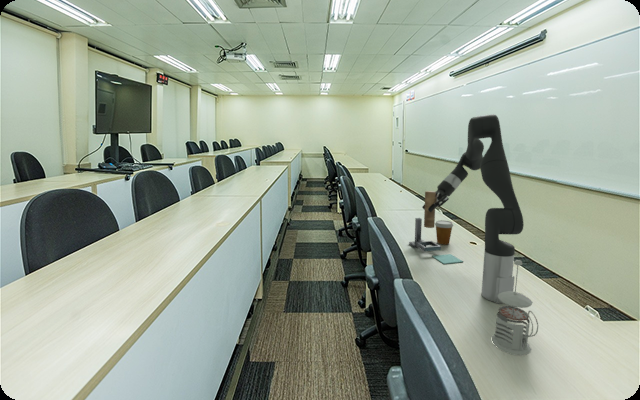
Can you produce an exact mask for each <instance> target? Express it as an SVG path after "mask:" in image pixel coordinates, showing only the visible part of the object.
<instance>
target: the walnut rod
mask: <svg viewBox="0 0 640 400" xmlns="http://www.w3.org/2000/svg"><path fill="white" fill-rule="evenodd" d="M435 198H436V191H434V190H426V191H424V204H425V210H424V214H423V215H424V216H423V218H424V219H423V220H424V221H423V227H424V228H427V229H433V228H435V223H436V221H435V219H436V208H435V209H434V210H433V211H432V212H429V210H428V208H429V207H430V206H431V205H432V204H433V203H434V201H435Z"/></svg>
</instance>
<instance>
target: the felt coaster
mask: <svg viewBox="0 0 640 400" xmlns="http://www.w3.org/2000/svg"><path fill="white" fill-rule="evenodd" d="M431 257H432V258H433V259H435V260H436V261H438V262H440V263H441V264H442V265H449V264H459V263H460V264H461V263H464V261H463V260H461V259H460V258H458V257H456V256H455V255H454V254H452V253H448V254H438V255H437V254H436V255H432V256H431Z"/></svg>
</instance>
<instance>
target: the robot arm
mask: <svg viewBox="0 0 640 400" xmlns="http://www.w3.org/2000/svg"><path fill="white" fill-rule="evenodd" d="M502 136H503V135H502V129H501V125H500V119H499V117H498V116H497V115H496V114H495V113H493V114H485V115H484V114H483V115H477V116H476V115H475V116H472V117H471V118H470V119H469V121H468V126H467V148H466V150H465V151H464V152H463V154H462V155H461V156H460V158H459V160H458V163H457V164H456V166H455V167H454V169H453V170H452V171H451V172H450V173H448V175H446V176H445V178H444V179H443V180H442V181H441V182H440V183H439V184H438V185H437V190H436V191H435V192H436V198H435V201H434V203H433V204H432V205H431V206H430V207H429V208H428V210H429V212H432V211H433V210H434V209H435V210H436V208H438V207H442V206H443V205H444V204H445V203H446V202H448V201H449V198H450V196H451V195H452V194H453V193H454V192H455V191H456V190H457V189H458V188H459V186H460V185H461V184H462V183H463V182H464V180H465V179H466V178H468V175H469V173H468V170H466V168H465V167H467V168H468V169H469V170H471V171H478V170H480V173H481V178H482V181H483V182H484V184H485V185H486V187H488V188H489V190H491V192H492V193H494V195H496V196H497V197H498V199H499V200H500V201H501V203H502V206H503V207H491V208H488V210H487V211H486V212H485V217H484V218H485V219H484V253H483V268H482V280H481V281H482V282H481V296H482V298H484V299H486V300H488V301H491V302H493V303H495V304H504V303H503V302H501V301H500V300H499V298H498V294H499V293H502V292H508V291H513V292H514V290H515V279H516V277H515V276H514V275H513V271H514V261H515V253H516V248H515V246H514V245H513V244H511V243H509V242H507V241H504V240H501V239H500V237H499V235H519V234H521V233H522V232H523V230H524V216H523V213H522V210H521V208H520V205H519V201H518V198H517V196H516V194H515V193H516V192H515V189H514V187H513V181H512V176H511V172H510V168H509V164H508V160H507V156H506V153H505V148H504V144H503V139H502ZM486 138H487V139H488V138H489V139H491V142H490V145H489V147H488V148H487V150H486V152H485V153H484V155H483V152H484V150H485V145H484V143H483V141H482V140H481V139H486ZM464 166H465V167H464ZM422 209H423V210H424V211H425V203H424V204H423V206H422Z"/></svg>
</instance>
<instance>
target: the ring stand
mask: <svg viewBox="0 0 640 400" xmlns="http://www.w3.org/2000/svg"><path fill="white" fill-rule="evenodd" d="M422 220H423V219H422V218H421V217H415V223H414V224H415V225H414V226H415V227H414V241H409V242H408V244H409V246H411V247H412V248H414V249H420V250H421V251H423V252H424V253H425V252H433V251H434V252H435V251H442V245H441V244H439V243H437V242H434V241H433V240H426V241H425V240H423V239H422V224H423V223H422Z"/></svg>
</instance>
